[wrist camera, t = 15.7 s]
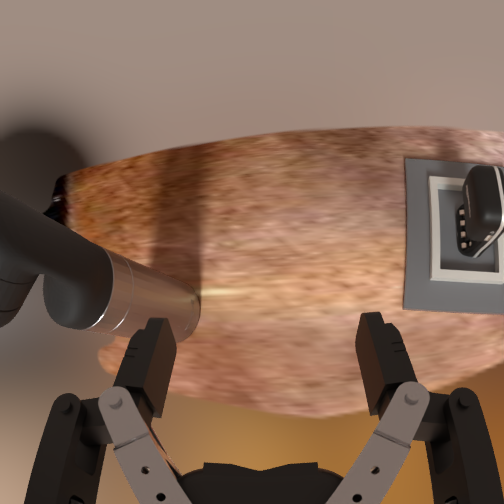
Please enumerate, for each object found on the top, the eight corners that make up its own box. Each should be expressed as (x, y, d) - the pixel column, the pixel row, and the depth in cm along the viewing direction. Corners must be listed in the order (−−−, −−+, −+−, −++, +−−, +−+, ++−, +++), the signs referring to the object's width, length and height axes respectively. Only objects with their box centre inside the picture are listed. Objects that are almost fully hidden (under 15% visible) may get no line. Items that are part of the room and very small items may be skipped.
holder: (402, 309, 35) (404, 306, 32) (404, 163, 40) (405, 152, 37) (516, 315, 28) (525, 312, 26) (505, 172, 33) (510, 162, 31)
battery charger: (449, 205, 35) (469, 155, 24) (475, 207, 33) (502, 159, 23) (452, 258, 33) (479, 222, 23) (479, 260, 31) (513, 225, 21)
